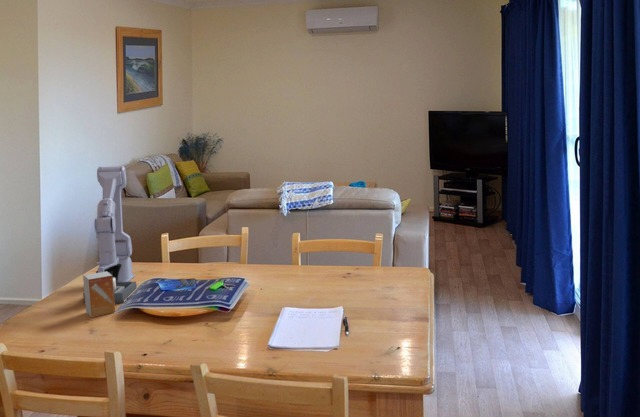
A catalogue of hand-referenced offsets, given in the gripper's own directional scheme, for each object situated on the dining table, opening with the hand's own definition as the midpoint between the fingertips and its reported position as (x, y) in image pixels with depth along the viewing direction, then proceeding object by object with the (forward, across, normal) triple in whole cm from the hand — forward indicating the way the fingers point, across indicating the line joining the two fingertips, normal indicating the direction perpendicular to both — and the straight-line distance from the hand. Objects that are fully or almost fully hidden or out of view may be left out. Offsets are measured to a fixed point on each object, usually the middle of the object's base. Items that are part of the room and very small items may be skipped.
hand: (110, 287), depth 256 cm
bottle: (+3, 0, 0) cm, 3 cm away
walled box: (+3, 0, 0) cm, 3 cm away
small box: (+4, +17, +3) cm, 18 cm away
